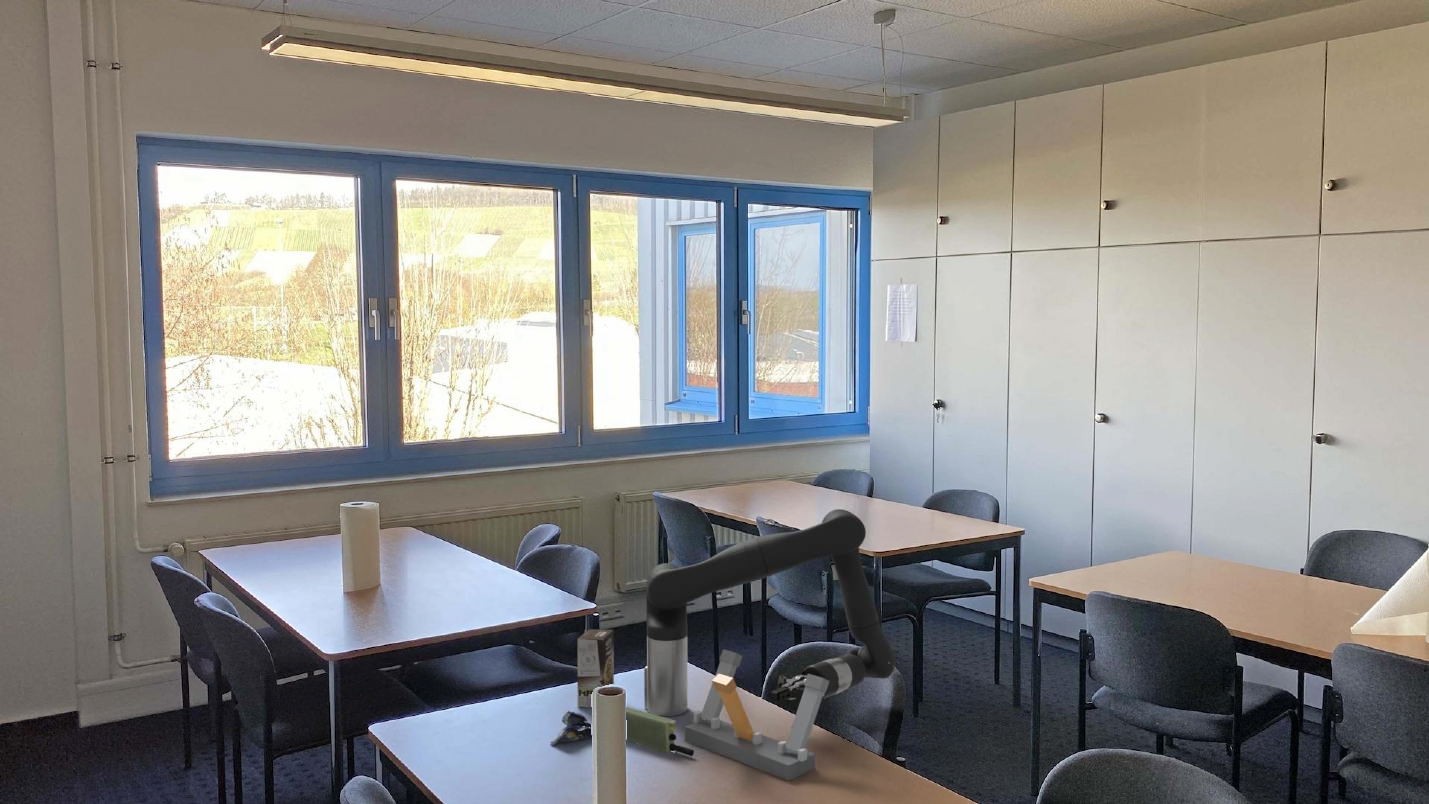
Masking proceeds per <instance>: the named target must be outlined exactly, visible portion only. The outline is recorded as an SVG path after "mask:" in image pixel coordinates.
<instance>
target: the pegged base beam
mask: <svg viewBox="0 0 1429 804" xmlns="http://www.w3.org/2000/svg"><path fill="white" fill-rule="evenodd" d="M701 713H702V710H701V711H700V710H698V711H696V712H693V723H691V724H689V725H686V726H684V741H685V742H687V743H690V744H693V745H695V746H698V747H701V748H703V749H706V750H708V751H711V752H713V753H716V754H719V755H721V756H724V757H727V758H729V759H732V760H733V761H734V760H735V761H737V762H738V763H741V764H744V765H747V766H749V767H753V768H755V769H757V770H759V771H762V772H765V773H767V774H771V775H772V776H776V777H777V778H781V779H783V780H785V781H788V782H789V781H791V780H793V779H796V778H798V777H800V776H803V775H805V774H807V773H809V772H811V771H814V770H816V753H813V752H811V751H808V749H807V748H802V749H799V750H798V753H797V752H795V751H792V750H789V749H787V748H785V745H786V742H787V741H785V740H782V741H780V740H777V739H773V737H768V736H766V735H763V734H762V732H759V731H757V732H754V731H753V732H754V734H753V739H752V740H751V741H748V740H746V739H743V738H740V737H737V734H736V732H735V730H734V727H733V725H732V723H730V722H726V721H724V720H720V717H719V718H717V717H715V718H712V719H711V721H709V720H706V719H703V718H701V717H700V716H701Z"/></svg>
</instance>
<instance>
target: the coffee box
mask: <svg viewBox="0 0 1429 804" xmlns="http://www.w3.org/2000/svg"><path fill="white" fill-rule="evenodd" d="M614 631H615V630H613V629H601V628H599V629H593V628H592V629H590V628H589V629H588V630H586V631H585V632H584V633H582V634H581V635H580V636H579V637H578V638H577V707H580V708H589V709H590V708H591V694H592V692H593V690H594V689H595V688H597V687H602V686H605V685H609V684H614V685H615V679H614V678H615V677H614V676H615V674H614V673H615V672H614V665H615V664H614V661H615V660H614V659H615V657H614V656H615V655H614V650H615V649H614V648H615V647H614V643H615V642H614Z"/></svg>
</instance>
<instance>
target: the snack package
mask: <svg viewBox="0 0 1429 804" xmlns="http://www.w3.org/2000/svg"><path fill="white" fill-rule="evenodd" d="M561 723H563V724H564V725H566V726H565V727H564V728H562V729H561V730H560V731H559V733H558V735H557V737H556V738H554V740H552V741H550V744H551V745H553V746H556V744H558V743H564V742H570V741H571V742H572V741H581V740H585V739H587V738H590V737H592V736H591V723H590V722H588V719H587V718H586V716H585V715H583V714H581V713H578V712H577V713H576V712H575V711H569V710H568V711H567V712H566V713H565V714H564V715H563V716H562V717H561ZM583 726H585V727H583ZM589 727H590V728H589ZM578 730H579V731H578Z"/></svg>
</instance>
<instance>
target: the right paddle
mask: <svg viewBox="0 0 1429 804" xmlns="http://www.w3.org/2000/svg"><path fill="white" fill-rule="evenodd" d="M828 684H829V681H828V680H826V679H824V678H822V677H818V676H815V675H811V674H808V675H807V678H806V681H805V684H804V685H805V689H804V692H803V695H802V698H801V701H799V705H798V707H797V710H796V713H795V716H794V719H793V721H792V724H791V728H790V731H789V733H788V737H787V740H786V741H785V742H786V745H785V748H787V749H789V750H792V751H795V752H797V753H798V750H799V749H802V748H805V749H807V748H806V747H807V744H808V741H809V738H810V735H811V732H812V730H813V726H814V724H815V720H816V718H817V715H818V712H819V708H820V706H821V702H822V701H823V700H822V697H823V694H824V693H826V690H827V687H828Z"/></svg>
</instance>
